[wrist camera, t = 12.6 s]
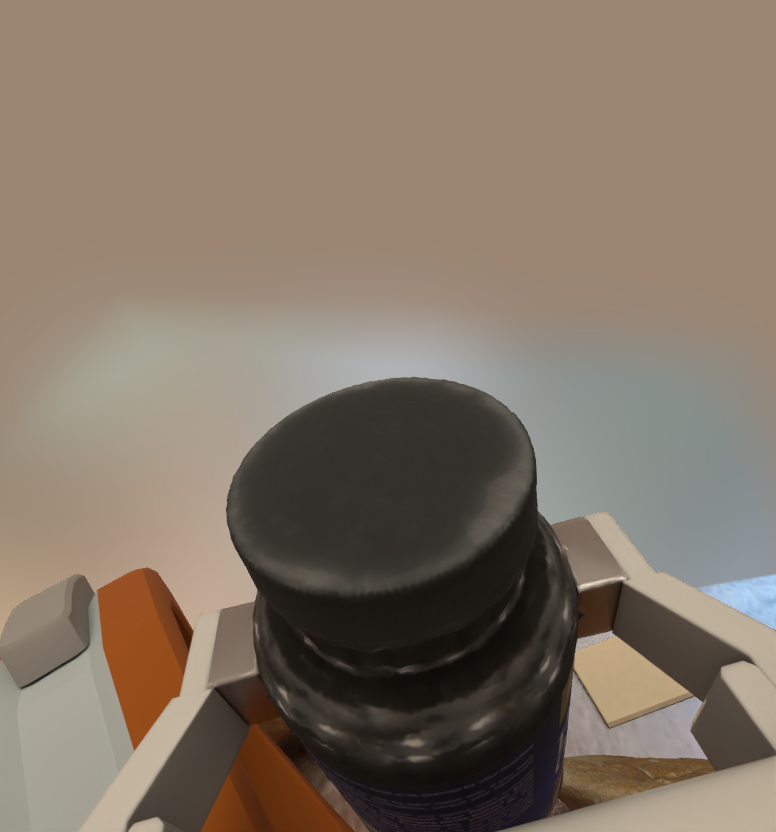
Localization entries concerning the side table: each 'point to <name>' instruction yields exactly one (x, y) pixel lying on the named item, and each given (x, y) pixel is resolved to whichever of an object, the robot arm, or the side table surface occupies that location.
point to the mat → (624, 681)
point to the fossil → (622, 776)
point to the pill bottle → (412, 603)
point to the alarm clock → (117, 712)
